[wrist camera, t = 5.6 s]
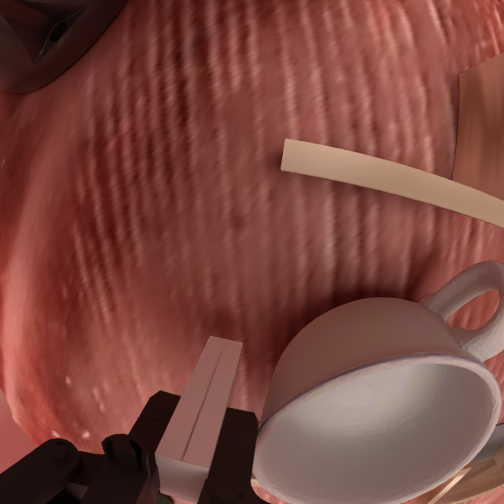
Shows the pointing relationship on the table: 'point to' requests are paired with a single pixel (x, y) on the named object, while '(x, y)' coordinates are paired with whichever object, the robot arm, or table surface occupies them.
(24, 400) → the table surface
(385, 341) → the teacup
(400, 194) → the trap channel
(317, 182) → the table surface
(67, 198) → the table surface
